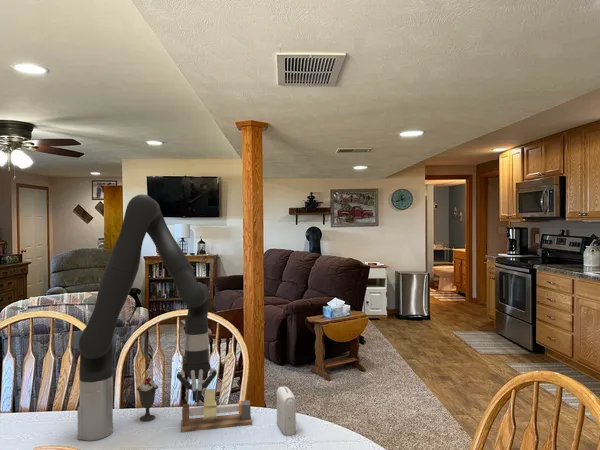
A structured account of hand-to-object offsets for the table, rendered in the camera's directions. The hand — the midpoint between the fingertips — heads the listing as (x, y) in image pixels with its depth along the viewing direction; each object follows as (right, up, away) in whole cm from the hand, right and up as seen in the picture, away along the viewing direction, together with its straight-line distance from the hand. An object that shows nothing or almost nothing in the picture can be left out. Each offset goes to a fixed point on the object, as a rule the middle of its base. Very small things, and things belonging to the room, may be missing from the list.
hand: (197, 401), depth 141 cm
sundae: (-18, -8, +6) cm, 20 cm away
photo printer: (+28, -8, -2) cm, 29 cm away
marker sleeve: (+4, -5, +1) cm, 7 cm away
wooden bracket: (+6, -8, +1) cm, 10 cm away
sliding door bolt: (+6, -7, +1) cm, 9 cm away
